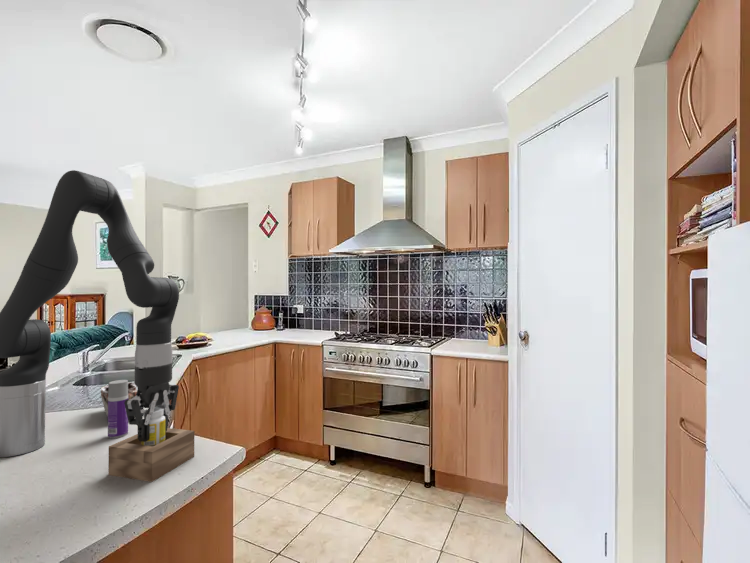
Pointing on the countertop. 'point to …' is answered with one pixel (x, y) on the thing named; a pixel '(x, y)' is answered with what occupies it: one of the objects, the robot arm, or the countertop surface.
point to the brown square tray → (150, 456)
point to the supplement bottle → (156, 427)
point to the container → (117, 409)
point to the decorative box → (104, 394)
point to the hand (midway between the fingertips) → (153, 435)
